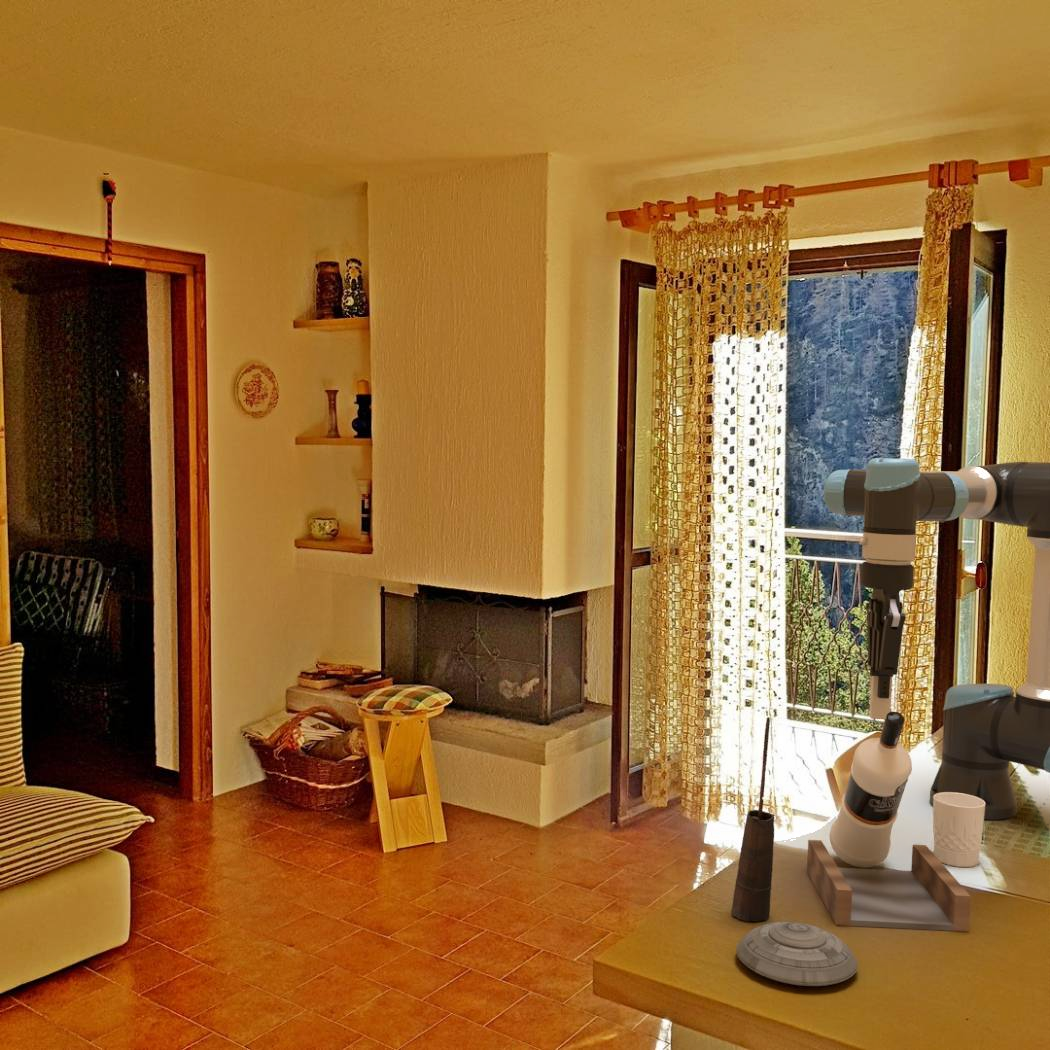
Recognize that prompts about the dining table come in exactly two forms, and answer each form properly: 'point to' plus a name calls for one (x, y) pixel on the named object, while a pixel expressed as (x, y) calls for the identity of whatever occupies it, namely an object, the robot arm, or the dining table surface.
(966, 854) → the white cup
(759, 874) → the butter churn
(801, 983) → the flying saucer
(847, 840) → the vodka
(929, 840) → the dining table surface
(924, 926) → the u rest
